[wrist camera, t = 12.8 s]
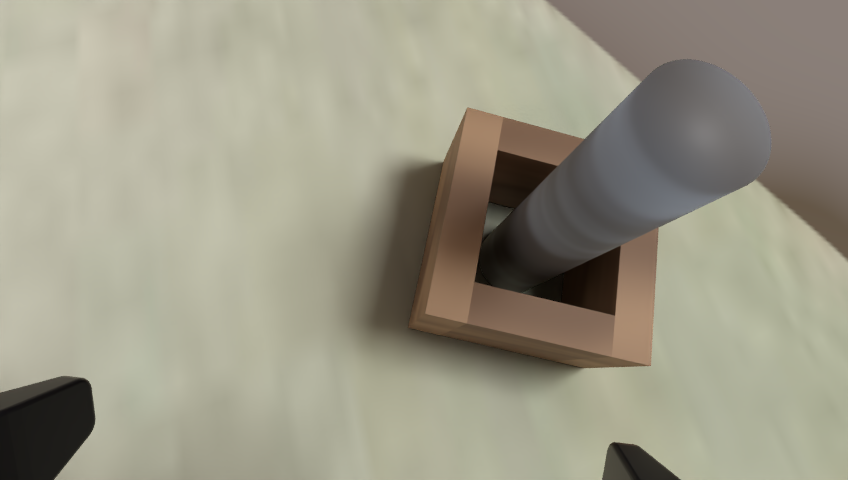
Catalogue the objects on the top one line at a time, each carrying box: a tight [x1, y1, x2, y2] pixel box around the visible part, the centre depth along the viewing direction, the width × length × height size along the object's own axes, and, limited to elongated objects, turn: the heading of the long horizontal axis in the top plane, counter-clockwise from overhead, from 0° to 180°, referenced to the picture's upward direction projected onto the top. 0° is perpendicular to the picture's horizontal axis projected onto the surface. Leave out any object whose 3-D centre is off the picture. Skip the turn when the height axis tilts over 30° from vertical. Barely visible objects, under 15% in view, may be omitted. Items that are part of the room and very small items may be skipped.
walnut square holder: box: [408, 107, 658, 368], centre depth 20 cm, size 8×8×5 cm
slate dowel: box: [479, 59, 771, 293], centre depth 16 cm, size 3×3×13 cm
